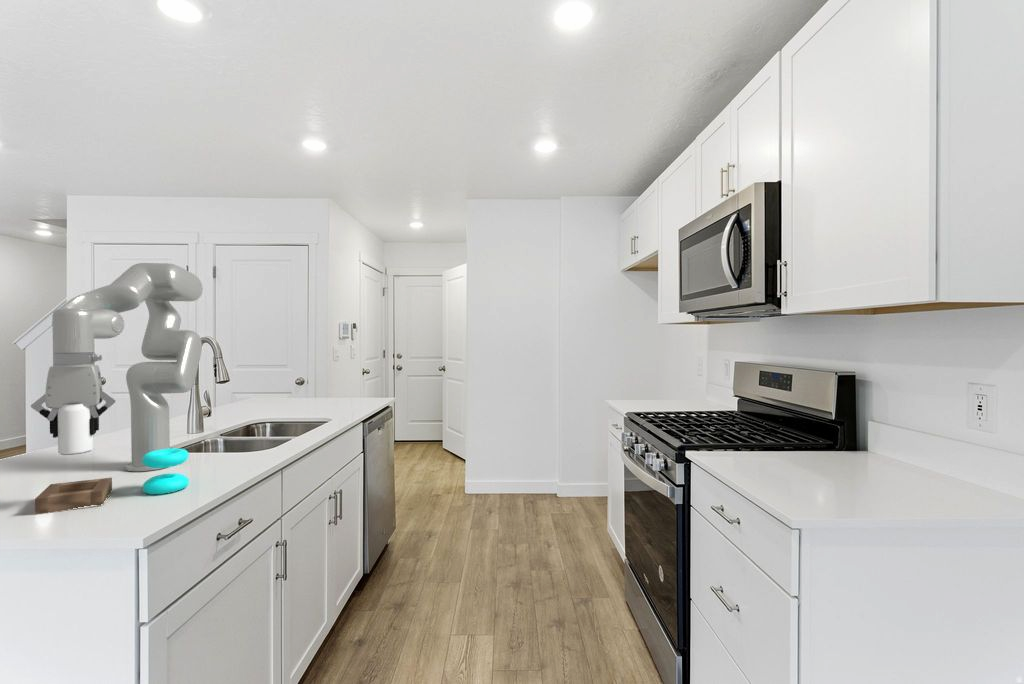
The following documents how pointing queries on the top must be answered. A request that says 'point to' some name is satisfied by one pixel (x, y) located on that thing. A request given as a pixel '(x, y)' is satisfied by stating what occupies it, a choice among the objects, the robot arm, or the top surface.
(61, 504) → the socket block
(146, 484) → the donuts
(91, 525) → the top surface
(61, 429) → the can
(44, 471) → the top surface
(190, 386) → the robot arm
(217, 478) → the top surface
